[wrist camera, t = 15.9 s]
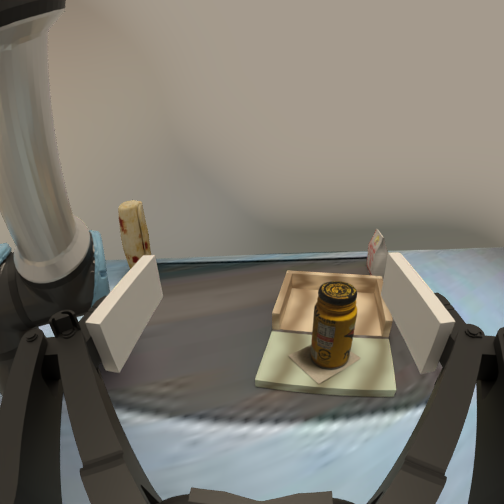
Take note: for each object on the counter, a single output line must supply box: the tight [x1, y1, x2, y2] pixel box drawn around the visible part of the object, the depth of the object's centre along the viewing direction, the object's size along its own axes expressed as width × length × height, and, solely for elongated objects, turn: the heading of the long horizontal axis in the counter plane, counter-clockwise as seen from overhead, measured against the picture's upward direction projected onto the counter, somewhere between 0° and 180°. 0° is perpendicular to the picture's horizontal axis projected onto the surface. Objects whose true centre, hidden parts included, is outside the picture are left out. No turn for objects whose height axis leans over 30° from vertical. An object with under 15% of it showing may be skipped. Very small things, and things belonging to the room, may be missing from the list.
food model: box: [118, 200, 151, 269], centre depth 71 cm, size 10×7×20 cm
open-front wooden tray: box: [255, 271, 396, 397], centre depth 48 cm, size 20×28×5 cm
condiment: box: [288, 281, 360, 384], centre depth 39 cm, size 7×8×12 cm
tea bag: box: [367, 229, 388, 277], centre depth 69 cm, size 4×7×10 cm, turn 171°
